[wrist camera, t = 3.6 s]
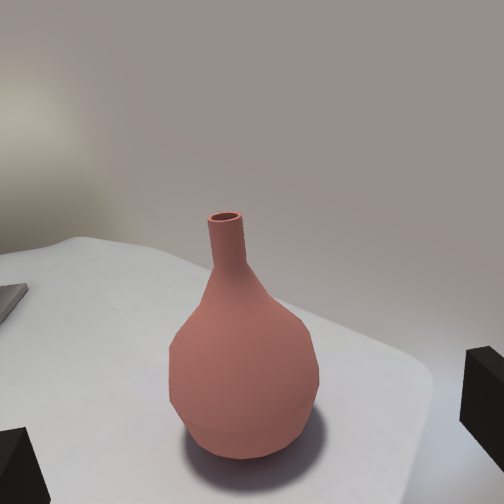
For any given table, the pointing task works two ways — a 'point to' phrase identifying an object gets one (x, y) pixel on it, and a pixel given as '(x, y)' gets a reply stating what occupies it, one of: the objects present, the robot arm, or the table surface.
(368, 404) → the table surface
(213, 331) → the pink vase
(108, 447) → the table surface
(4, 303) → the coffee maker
